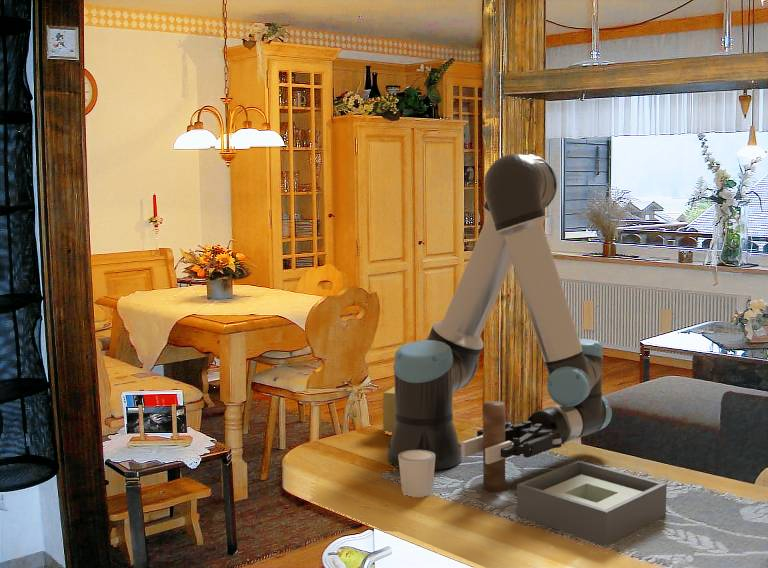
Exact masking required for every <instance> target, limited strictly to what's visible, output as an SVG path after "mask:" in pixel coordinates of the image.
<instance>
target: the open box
mask: <svg viewBox="0 0 768 568" xmlns="http://www.w3.org/2000/svg"><path fill="white" fill-rule="evenodd" d="M665 516H667V483H664V482H660V481H656V480H654V479H653V480H652V479H649V478H645V477H642V476H638V475H634V474H631V473H627V472H624V471H620V470H616V469H613V468H608V467H604V466H601V465H597V464H593V463H589V462H586V461H582V460H580V459H579V460H576V461H573V462H570V463H568V464H566V465H563V466H561V467H558V468H555V469H553V470H551V471H547V472H545V473H543V474H540V475H537V476H535V477H533V478H531V479H527V480H524V481H523V482H520V483H518V484H516V517H519V518H522V519H524V520H528V521H531V522H534V523H536V524H541V525H543V526H546V527H548V528H551V529H554V530H558V531H561V532H563V533H566V534H569V535H572V536H575V537H577V538H581V539H583V540H587V541H590V542H592V543H595V544H598V545H601V546H605V547H608V546H610V545H611V544H614V543H615V542H618V541H619V540H621V539H624V538H626V537H628V536H629V535H631V534H633V533H635V532H636V531H639V530H641V529H643V528H645V527H646V526H649V525H651V524H652V523H654V522H656V521H658V520H660V519H662V518H663V517H665Z"/></svg>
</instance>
